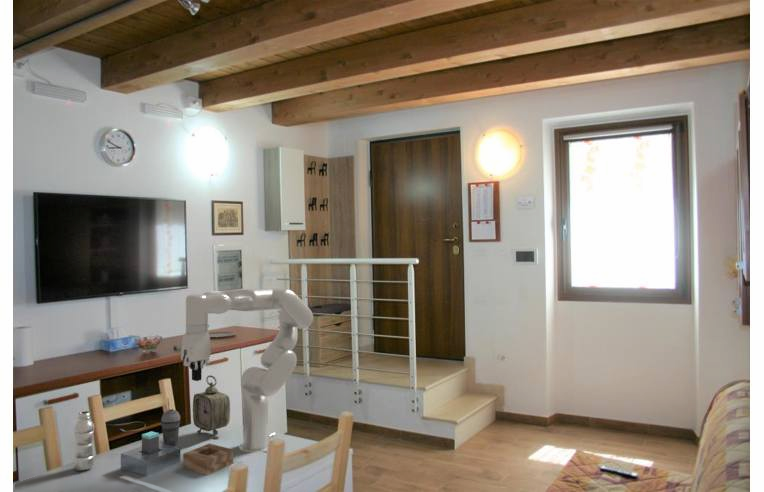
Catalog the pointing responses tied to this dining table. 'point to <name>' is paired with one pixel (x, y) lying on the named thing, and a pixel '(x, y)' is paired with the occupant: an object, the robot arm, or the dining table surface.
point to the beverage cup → (170, 426)
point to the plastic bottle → (84, 442)
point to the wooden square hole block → (208, 459)
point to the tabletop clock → (211, 409)
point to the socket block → (150, 460)
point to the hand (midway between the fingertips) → (196, 380)
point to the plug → (150, 443)
